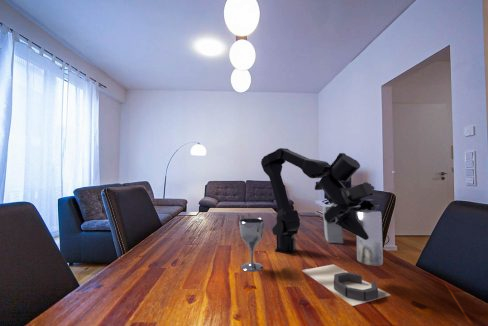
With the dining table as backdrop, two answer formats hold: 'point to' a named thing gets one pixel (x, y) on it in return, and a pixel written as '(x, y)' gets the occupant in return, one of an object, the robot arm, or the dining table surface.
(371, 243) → the grey round cylinder
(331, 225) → the skincare box
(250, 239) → the wine glass
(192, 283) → the dining table surface
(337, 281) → the ring stand
